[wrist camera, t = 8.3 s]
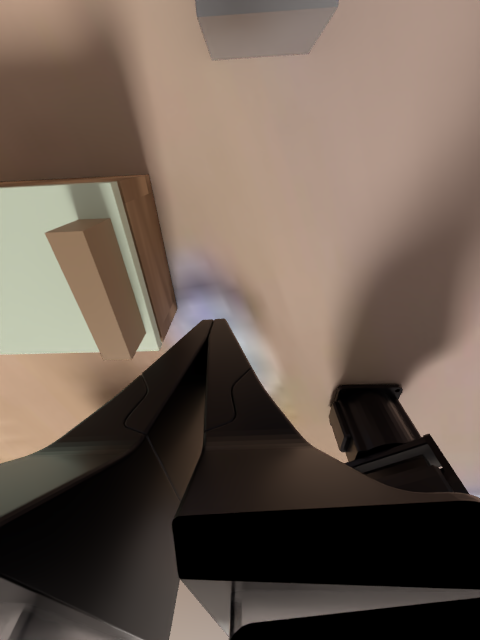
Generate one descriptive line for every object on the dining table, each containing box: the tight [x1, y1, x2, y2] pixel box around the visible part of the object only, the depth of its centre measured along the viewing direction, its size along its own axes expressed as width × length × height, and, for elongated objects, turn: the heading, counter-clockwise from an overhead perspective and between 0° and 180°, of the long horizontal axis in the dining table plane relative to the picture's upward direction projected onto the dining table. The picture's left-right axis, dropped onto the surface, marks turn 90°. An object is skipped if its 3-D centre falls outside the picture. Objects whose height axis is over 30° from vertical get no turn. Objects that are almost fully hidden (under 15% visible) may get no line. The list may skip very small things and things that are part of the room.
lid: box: [0, 181, 162, 360], centre depth 14 cm, size 12×10×3 cm
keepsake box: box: [0, 175, 177, 342], centre depth 17 cm, size 12×10×4 cm
